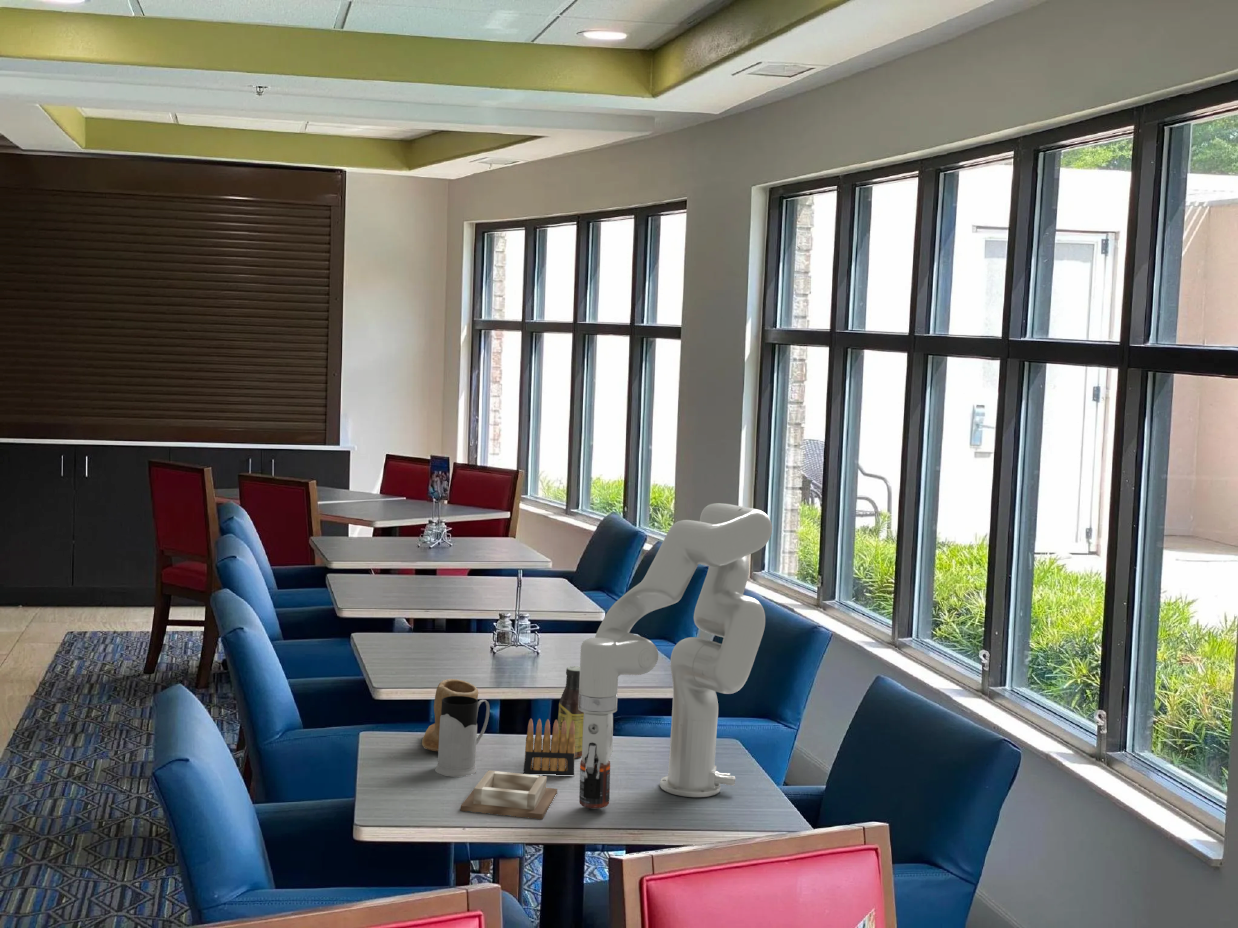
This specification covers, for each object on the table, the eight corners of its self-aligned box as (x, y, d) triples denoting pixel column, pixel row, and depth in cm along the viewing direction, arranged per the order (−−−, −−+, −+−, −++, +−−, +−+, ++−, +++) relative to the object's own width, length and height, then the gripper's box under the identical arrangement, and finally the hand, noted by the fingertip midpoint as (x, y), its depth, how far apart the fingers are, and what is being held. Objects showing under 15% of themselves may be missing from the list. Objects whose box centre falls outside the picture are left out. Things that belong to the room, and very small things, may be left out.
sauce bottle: (554, 750, 301) (560, 663, 299) (582, 751, 301) (587, 664, 300) (556, 759, 294) (561, 670, 293) (585, 760, 295) (590, 671, 293)
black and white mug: (426, 770, 281) (430, 699, 280) (470, 756, 293) (473, 688, 292) (458, 779, 276) (462, 707, 275) (501, 764, 288) (505, 696, 287)
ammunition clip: (573, 774, 285) (576, 719, 284) (574, 777, 283) (577, 721, 282) (523, 772, 284) (526, 717, 283) (523, 775, 282) (526, 719, 281)
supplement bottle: (604, 798, 266) (606, 742, 265) (612, 808, 260) (614, 751, 259) (575, 800, 264) (577, 744, 263) (582, 810, 259) (585, 753, 258)
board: (557, 793, 271) (558, 774, 271) (542, 819, 255) (543, 798, 255) (479, 785, 273) (481, 766, 273) (460, 810, 257) (461, 790, 257)
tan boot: (472, 757, 292) (475, 690, 291) (417, 754, 292) (420, 686, 291) (479, 738, 307) (483, 674, 306) (427, 735, 307) (431, 671, 306)
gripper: (610, 715, 252) (607, 808, 253) (622, 692, 269) (619, 779, 270) (571, 712, 252) (568, 805, 254) (585, 689, 270) (582, 776, 271)
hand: (594, 791), depth 262 cm, fingers closed on supplement bottle, 6 cm apart
